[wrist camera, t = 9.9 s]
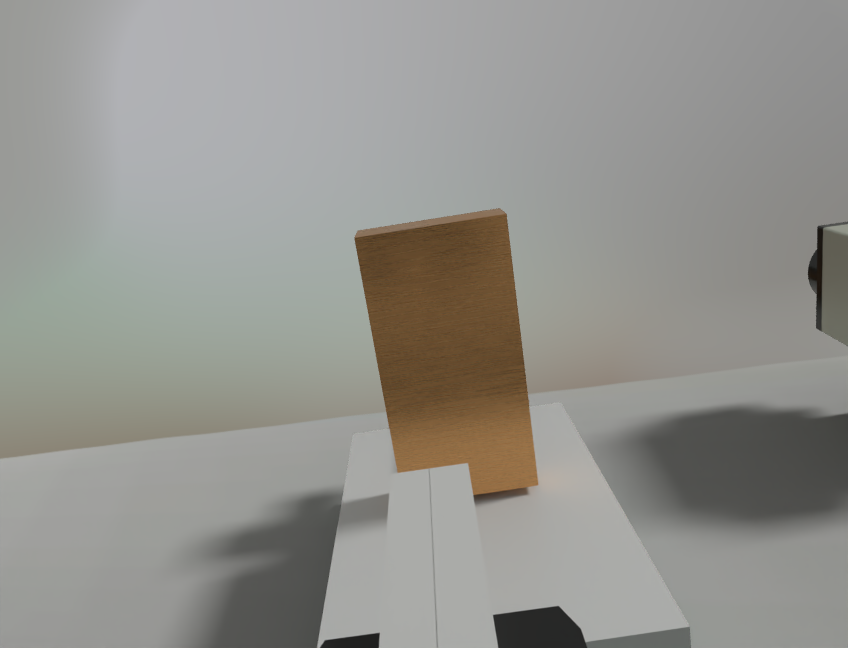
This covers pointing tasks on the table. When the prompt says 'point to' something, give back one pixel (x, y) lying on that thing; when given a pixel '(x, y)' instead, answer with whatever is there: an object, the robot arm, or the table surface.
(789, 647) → the table surface
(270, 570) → the table surface
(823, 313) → the pneumatic valve
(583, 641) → the robot arm
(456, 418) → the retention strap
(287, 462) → the table surface
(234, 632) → the table surface
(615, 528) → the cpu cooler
